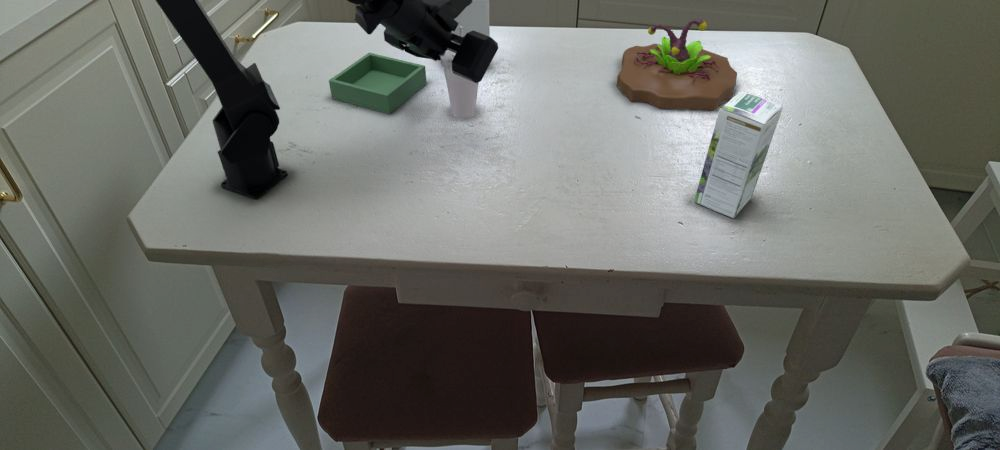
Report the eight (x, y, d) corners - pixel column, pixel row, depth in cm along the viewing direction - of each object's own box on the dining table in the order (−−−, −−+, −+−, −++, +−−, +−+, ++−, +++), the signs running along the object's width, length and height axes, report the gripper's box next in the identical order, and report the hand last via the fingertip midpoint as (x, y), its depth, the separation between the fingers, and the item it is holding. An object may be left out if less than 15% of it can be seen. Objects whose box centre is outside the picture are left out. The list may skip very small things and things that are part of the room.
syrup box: (711, 182, 89) (737, 88, 79) (753, 199, 86) (784, 103, 76) (693, 202, 85) (717, 106, 76) (735, 220, 82) (766, 123, 73)
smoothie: (485, 103, 105) (484, 20, 96) (481, 123, 100) (479, 38, 91) (447, 101, 105) (442, 18, 96) (440, 121, 101) (434, 36, 92)
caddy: (389, 114, 102) (387, 95, 100) (331, 98, 106) (328, 80, 104) (426, 83, 110) (425, 65, 108) (371, 69, 114) (369, 52, 112)
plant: (735, 118, 101) (753, 52, 94) (611, 102, 105) (619, 37, 98) (733, 63, 116) (749, 2, 109) (625, 50, 120) (633, -10, 113)
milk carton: (438, 59, 117) (431, -49, 105) (474, 52, 119) (471, -55, 107) (453, 76, 112) (447, -36, 100) (490, 68, 114) (489, -42, 102)
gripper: (488, -21, 80) (540, 36, 93) (390, -53, 89) (450, 2, 103) (446, 59, 81) (504, 104, 94) (353, 19, 90) (417, 64, 104)
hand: (468, 65), depth 99 cm, fingers closed on smoothie, 6 cm apart
